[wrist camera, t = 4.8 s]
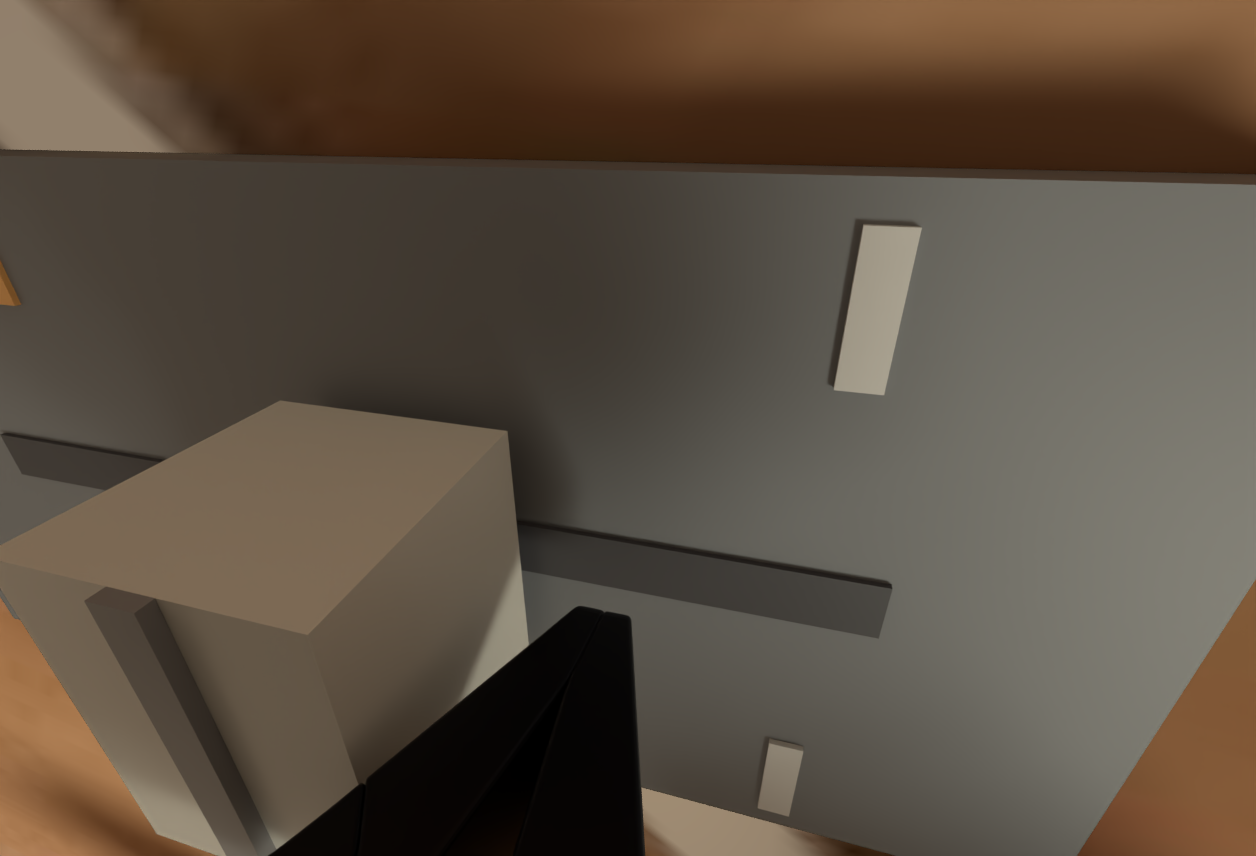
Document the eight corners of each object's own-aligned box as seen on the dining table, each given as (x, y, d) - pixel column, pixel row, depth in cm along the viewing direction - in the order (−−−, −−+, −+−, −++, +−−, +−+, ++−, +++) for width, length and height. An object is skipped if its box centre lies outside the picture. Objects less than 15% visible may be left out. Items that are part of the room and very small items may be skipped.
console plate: (1014, 790, 12) (1051, 903, 11) (88, 572, 18) (9, 620, 16) (1330, 175, 7) (1518, 191, 5) (-141, 146, 13) (-296, 149, 11)
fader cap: (531, 670, 11) (395, 942, 7) (346, 626, 12) (143, 848, 8) (507, 431, 9) (289, 652, 5) (280, 400, 9) (-46, 568, 6)
